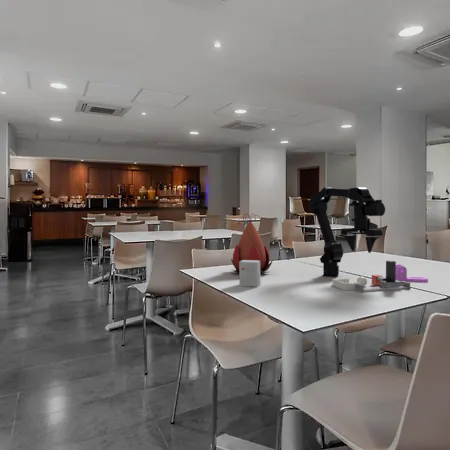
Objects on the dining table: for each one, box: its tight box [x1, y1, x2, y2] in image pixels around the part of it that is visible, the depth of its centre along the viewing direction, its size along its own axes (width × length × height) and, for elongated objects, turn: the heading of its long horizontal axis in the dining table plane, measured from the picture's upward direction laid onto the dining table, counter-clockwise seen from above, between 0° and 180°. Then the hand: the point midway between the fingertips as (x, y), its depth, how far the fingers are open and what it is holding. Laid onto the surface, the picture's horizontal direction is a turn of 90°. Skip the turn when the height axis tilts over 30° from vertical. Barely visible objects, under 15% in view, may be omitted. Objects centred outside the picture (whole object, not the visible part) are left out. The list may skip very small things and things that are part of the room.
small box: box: [238, 260, 262, 288], centre depth 160 cm, size 8×6×10 cm
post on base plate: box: [371, 260, 401, 288], centre depth 154 cm, size 7×11×11 cm, turn 12°
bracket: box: [396, 263, 429, 283], centre depth 166 cm, size 13×6×7 cm, turn 78°
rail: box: [355, 281, 411, 293], centre depth 150 cm, size 22×4×2 cm, turn 102°
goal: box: [332, 277, 361, 291], centre depth 155 cm, size 7×10×2 cm
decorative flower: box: [230, 213, 274, 274], centre depth 188 cm, size 22×23×30 cm
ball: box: [356, 276, 368, 287], centre depth 156 cm, size 4×4×4 cm
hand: (361, 251), depth 165 cm, fingers open, 9 cm apart
